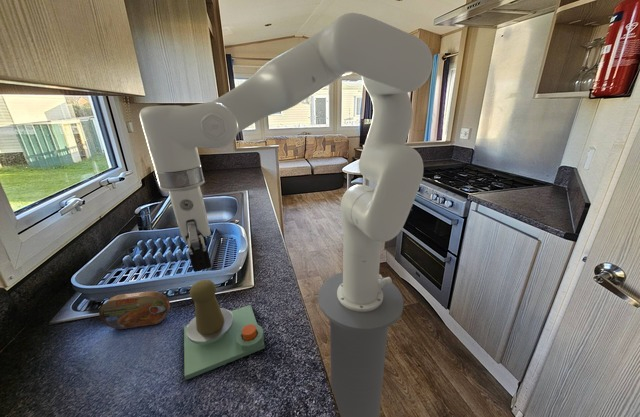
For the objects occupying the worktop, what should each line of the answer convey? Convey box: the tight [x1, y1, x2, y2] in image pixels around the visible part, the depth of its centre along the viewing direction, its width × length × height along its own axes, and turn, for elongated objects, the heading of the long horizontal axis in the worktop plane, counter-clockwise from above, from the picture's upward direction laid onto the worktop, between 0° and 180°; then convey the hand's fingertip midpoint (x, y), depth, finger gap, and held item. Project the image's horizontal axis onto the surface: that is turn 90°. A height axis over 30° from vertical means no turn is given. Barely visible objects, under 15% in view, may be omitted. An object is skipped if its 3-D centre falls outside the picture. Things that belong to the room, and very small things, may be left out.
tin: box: [98, 290, 171, 330], centre depth 64 cm, size 15×3×8 cm, turn 99°
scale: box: [183, 304, 266, 381], centre depth 60 cm, size 16×14×3 cm
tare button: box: [242, 324, 257, 341], centre depth 58 cm, size 3×3×2 cm
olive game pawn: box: [189, 279, 224, 334], centre depth 58 cm, size 6×6×11 cm
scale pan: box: [187, 307, 234, 344], centre depth 60 cm, size 10×10×1 cm
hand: (201, 257), depth 54 cm, fingers open, 9 cm apart
